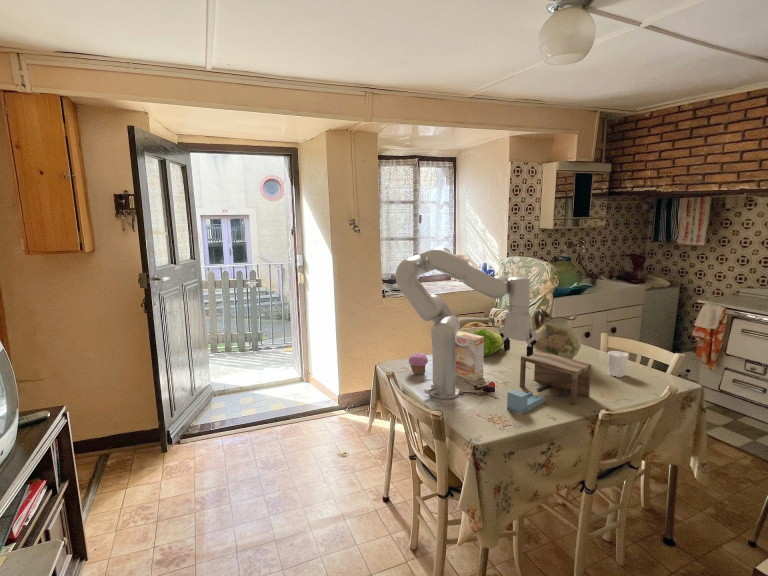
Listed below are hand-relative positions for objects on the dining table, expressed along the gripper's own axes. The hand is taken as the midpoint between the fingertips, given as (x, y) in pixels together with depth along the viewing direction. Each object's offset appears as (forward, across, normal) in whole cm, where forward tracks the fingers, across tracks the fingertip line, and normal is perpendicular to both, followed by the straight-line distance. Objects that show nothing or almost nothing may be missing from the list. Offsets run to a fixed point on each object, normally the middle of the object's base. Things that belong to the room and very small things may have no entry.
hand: (518, 352), depth 160 cm
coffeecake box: (+20, -32, +9) cm, 39 cm away
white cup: (+21, +16, +58) cm, 63 cm away
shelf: (+20, +5, +20) cm, 29 cm away
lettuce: (+20, -43, +45) cm, 66 cm away
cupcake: (+20, -48, -6) cm, 53 cm away
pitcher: (+21, -13, +55) cm, 60 cm away
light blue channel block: (+20, +4, 0) cm, 21 cm away
